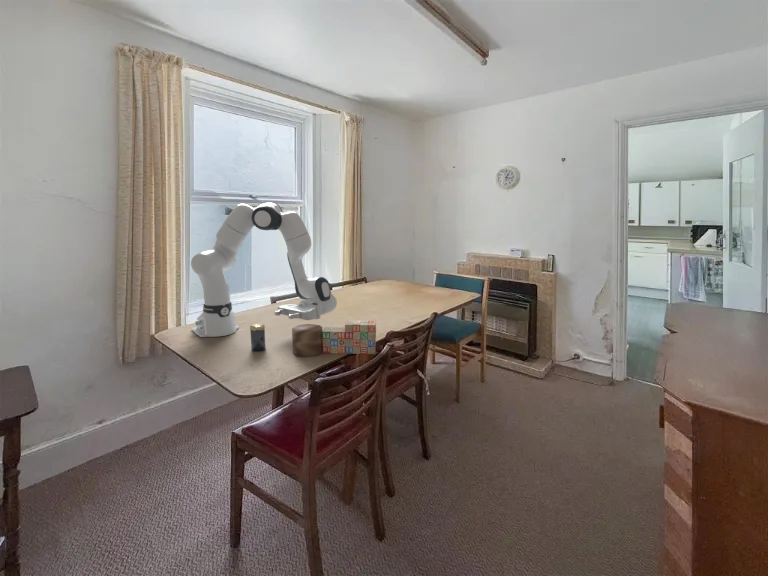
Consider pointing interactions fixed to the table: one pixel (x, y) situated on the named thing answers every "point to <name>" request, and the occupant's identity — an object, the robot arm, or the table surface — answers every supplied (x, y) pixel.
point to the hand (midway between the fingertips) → (282, 315)
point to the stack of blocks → (350, 338)
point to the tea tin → (257, 337)
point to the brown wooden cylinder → (307, 340)
